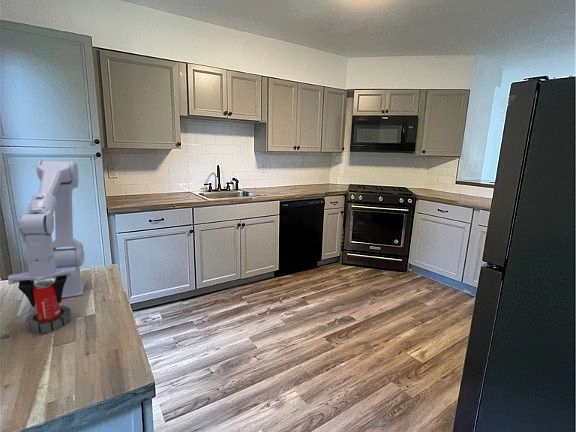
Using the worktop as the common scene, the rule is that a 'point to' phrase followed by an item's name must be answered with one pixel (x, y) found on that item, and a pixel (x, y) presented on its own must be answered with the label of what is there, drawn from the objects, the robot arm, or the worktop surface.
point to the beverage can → (46, 301)
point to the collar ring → (50, 325)
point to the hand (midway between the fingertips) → (47, 303)
